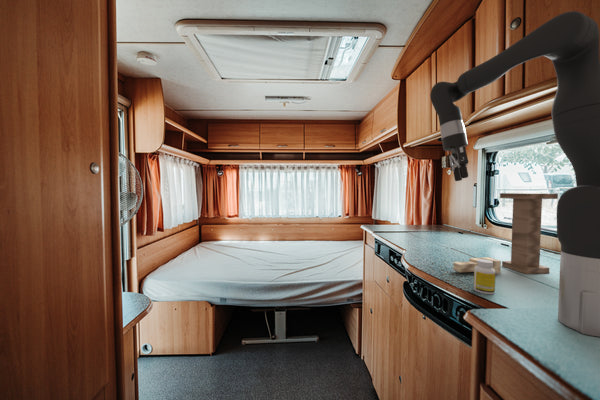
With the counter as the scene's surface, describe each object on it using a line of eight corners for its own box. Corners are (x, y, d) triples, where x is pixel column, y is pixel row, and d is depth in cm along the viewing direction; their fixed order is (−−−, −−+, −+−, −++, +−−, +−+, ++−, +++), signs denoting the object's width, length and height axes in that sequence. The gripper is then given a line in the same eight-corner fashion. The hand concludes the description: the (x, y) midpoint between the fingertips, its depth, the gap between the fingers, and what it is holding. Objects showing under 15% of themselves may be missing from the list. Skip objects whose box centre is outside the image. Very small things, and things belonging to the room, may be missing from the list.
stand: (527, 275, 91) (530, 193, 90) (497, 265, 103) (500, 193, 102) (554, 273, 93) (557, 193, 92) (522, 264, 105) (524, 193, 104)
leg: (461, 275, 91) (462, 262, 91) (451, 271, 96) (451, 259, 96) (500, 273, 93) (500, 260, 93) (488, 269, 98) (488, 257, 98)
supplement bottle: (498, 295, 73) (499, 264, 73) (478, 294, 75) (479, 262, 74) (488, 288, 79) (489, 259, 78) (470, 287, 80) (471, 258, 79)
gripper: (471, 126, 79) (480, 174, 78) (460, 138, 93) (468, 179, 91) (445, 132, 82) (453, 179, 81) (438, 143, 95) (445, 183, 94)
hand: (461, 179), depth 86 cm, fingers open, 8 cm apart
